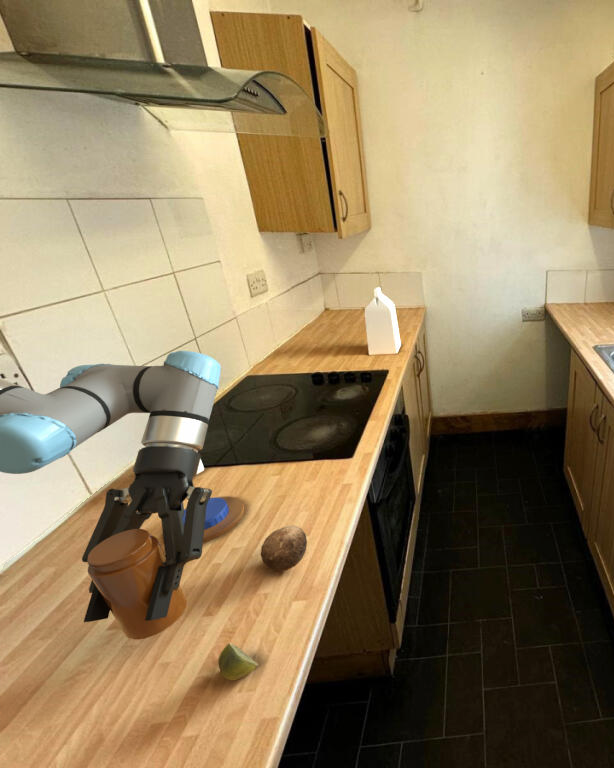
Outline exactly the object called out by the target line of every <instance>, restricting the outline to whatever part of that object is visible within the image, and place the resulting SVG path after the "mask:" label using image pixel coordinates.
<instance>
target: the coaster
mask: <svg viewBox="0 0 614 768" xmlns="http://www.w3.org/2000/svg"><path fill="white" fill-rule="evenodd" d="M215 498H222V499H224V500H225V501H226V502H227V505H228V508H229V512H228V514H227V516H226V517H225V518H224V519H223V520H222V521H221V522H219V523H218V524H216V525H214V526H212V527H210V528H208V529H205V530H204V537H203V544H204V543H207V542H210V541H212V540H215V539H216V538H219V537H220V536H222V535H225V534H226V533H227V532H228V531H231V529H233V528H234V527H235V526H236V525H237V524H238V523H239V522H240V521H241V520H242V518H243V516H244V513H245V507H244V503H243V502H242V500H241V499H239V498H237V497H234V496H217V497H215Z"/></svg>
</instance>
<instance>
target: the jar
mask: <svg viewBox="0 0 614 768" xmlns="http://www.w3.org/2000/svg"><path fill="white" fill-rule="evenodd" d="M165 561H166V557H165V551H164V550H163V548H162V546H161V542H159V539H158V538H157V537H156V536H154V535H152V534H151V533H150V532H149V531H148V530H147V529H144V528H140V529H131V530H127V531H123V532H120V533H118V534H115V535H113V536H111V537H109V538H107V539H105V540H104V541H102V542H101V543H99V544H98V545H97V546H96V547H94V548H93V549H92V551H91V552H90V553H89V555H88V562H87V565H88V567H87V574H88V575H89V577H90V579H91V581H92V580H93V582H94V584H95V585H96V587H97V589H98V590H99V592H100V594H101V596H102V597H103V599H104V601H105V602H106V604H107V606H108V607H109V609H110V613H111V614H112V615H113V617H114V620H115V621H116V622H117V625H118V626H119V627H120V629H121V631H122V632H123V634H124V636H125V637H126V638H127V639H130V640H136V641H137V640H138V641H139V640H144V639H148V638H151V637H154V636H156V635H158V634H160V633H162V632H164V631H165V630H167V629H168V628H170V627H171V626H172V625H174V624H175V623H176V622H177V621H179V619H180V618H181V617H182V615H183V613H184V612H185V610H186V608H187V604H188V600H187V598H186V595H185V594H184V592H183V590H182V587H181V584H179V587H178V589H177V590H173V593H172V597H171V601H170V605H169V609H168V613H167V617H164V618H160V619H155V620H151V621H145V618H146V614H147V610H148V607H149V603H150V599H151V595H152V591H153V587H154V583H155V579H156V575H157V571H158V568H159V566H163V565H162V563H164V562H165Z"/></svg>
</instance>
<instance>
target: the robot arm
mask: <svg viewBox="0 0 614 768" xmlns="http://www.w3.org/2000/svg"><path fill="white" fill-rule="evenodd" d="M221 372H222V366H221V364H220V362H219V361H218V360H215V358H213V357H212V356H209V355H207V354H204V353H199V352H196V351H191V350H190V351H189V350H177V351H172V352H170V353H169V354H168V355H166V358H165V360H164V361H163V364H162V365H128V364H111V363H96V364H82V365H77V366H75V367H72V368H71V369H69V370H68V371H67V374H66V376H63V377H62V378H61V380H60V383H59V388H56V389H54V390H52V391H50V392H47V393H45V394H44V393H40V392H38V391H35V390H33V389H30V388H27V387H24V386H21V385H18V384H17V383H13V382H12V381H11V382H10V381H8V380H6V379H3V378H0V473H4V474H10V475H11V474H12V475H22V474H29V473H32V472H36V471H38V470H40V469H42V468H44V467H45V466H47V465H49V464H52V463H54V462H55V461H57V460H59V459H61V458H64V457H65V456H67V455H68V454H70V453H71V452H72V451H73V450H74V449H76V448H77V447H78V446H79V445H82V444H83V443H84V442H86V441H87V440H88V439H90V438H92V437H93V436H94V435H96V434H98V433H99V432H102V431H104V430H105V429H107V428H108V427H110V426H111V425H113V424H115V423H116V422H117V421H119V420H121V419H123V417H125V416H126V415H129V414H149V416H148V419H147V422H146V425H145V428H144V431H143V435H142V438H141V441H140V444H141V445H142V446H144V447H141V448H140V449H139V450H138V451H137V456H136V458H135V461H134V465H133V469H132V471H133V473H134V479H133V480H132V482H131V483H130V485H129V486H128V487H124V488H120V489H119V488H118V489H117V488H110V489H108V490H107V491H106V494H105V503H104V507H103V509H102V511H101V513H100V516H99V518H98V520H97V522H96V525H95V528H94V530H93V532H92V533H91V537H90V538H89V541H88V543H87V546H86V548H85V550H84V552H83V554H82V557H81V561H82V562H83V563H88V555H89V553H90V552H91V551H92V549H93V548H94V547H96V546H97V545H98V544H99V543H101V542H102V541H104V540H105V539H107V538H109V537H111V536H113V535H115V534H118V533H120V532H123V531H127V530H131V529H141V528H142V526H143V524H144V523H145V522H146V521H147V520H149V519H150V518H151V516H152V515H154V514H157V517H158V518H159V519H160V520H161V521H160V522H161V529H162V538H163V547H164V554H165V557H166V561H165V562H164V563H162V565H163V566H159V568H158V571H157V575H156V579H155V583H154V587H153V591H152V595H151V599H150V603H149V607H148V610H147V614H146V618H145V621H151V620H155V619H160V618H164V617H167V613H168V609H169V605H170V601H171V597H172V593H173V590H177V589H178V587H179V585H181V579H182V577H183V576H182V575H183V572H184V567H185V565H187V563H189V562H192V561H194V560H199V559H200V558H201V557H202V554H203V546H204V543H203V537H204V527H205V517H206V507H207V503H208V501H209V499H210V498H212V497H211V496H212V494H213V490H212V489H210V488H206V487H201V486H195V485H194V480H193V479H194V477H195V476H197V475H198V474H197V470H198V466H199V462H200V459H202V455H201V453H200V452H199V451H201V450H203V449H204V445H205V440H206V435H207V432H208V428H209V423H210V418H211V415H212V411H213V407H214V403H215V400H216V396H217V392H218V390H219V388H220V386H219V384H220V378H221ZM197 451H198V452H197ZM196 474H197V475H196ZM186 500H187V503H186V508H185V507H184V501H186ZM185 509H186V515H185V524H183V516H184V510H185ZM88 592H89V594H91V595H90V599H89V602H88V605H87V609H86V612H85V614H84V619H83V623H92V622H96V621H102V620H107V619H109V616H110V613H111V611H110V609H109V607H108V606H107V604H106V602H105V601H104V599H103V597H102V596H101V594H100V592H99V590H98V589H97V587H96V585H95V584H94V582H93V580H92V579H91V581H90V584H89V587H88Z"/></svg>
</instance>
